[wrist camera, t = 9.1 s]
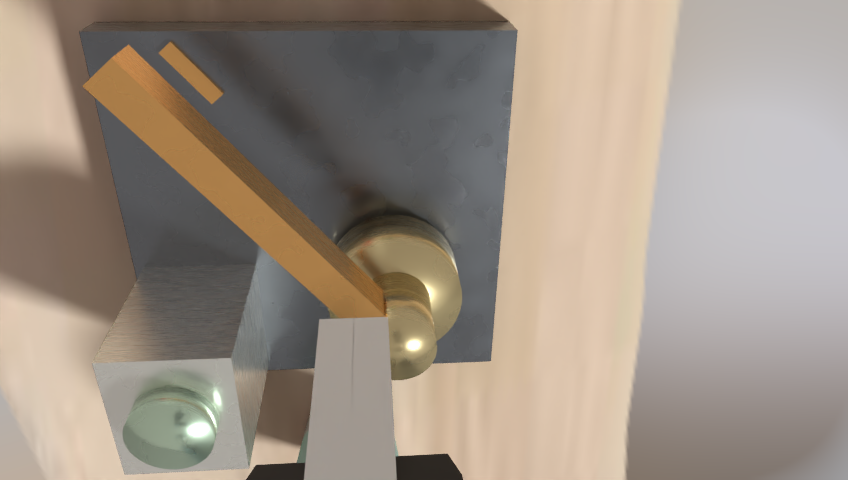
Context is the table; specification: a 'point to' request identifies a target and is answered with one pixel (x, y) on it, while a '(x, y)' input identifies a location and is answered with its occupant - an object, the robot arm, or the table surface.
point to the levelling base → (307, 189)
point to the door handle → (297, 221)
